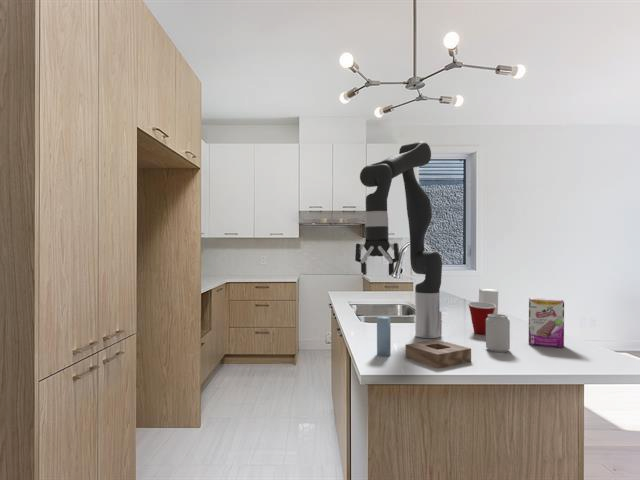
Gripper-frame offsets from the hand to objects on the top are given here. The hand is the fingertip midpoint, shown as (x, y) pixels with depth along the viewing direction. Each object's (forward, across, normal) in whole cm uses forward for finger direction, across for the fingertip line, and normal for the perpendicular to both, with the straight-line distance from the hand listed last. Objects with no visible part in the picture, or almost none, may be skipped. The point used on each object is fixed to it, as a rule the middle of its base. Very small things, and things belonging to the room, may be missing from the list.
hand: (377, 274), depth 139 cm
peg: (+26, -2, 0) cm, 26 cm away
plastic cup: (+27, -33, -45) cm, 62 cm away
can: (+27, -37, -18) cm, 49 cm away
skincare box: (+27, -36, -68) cm, 81 cm away
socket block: (+26, -19, 0) cm, 32 cm away
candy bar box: (+27, -54, -32) cm, 68 cm away
